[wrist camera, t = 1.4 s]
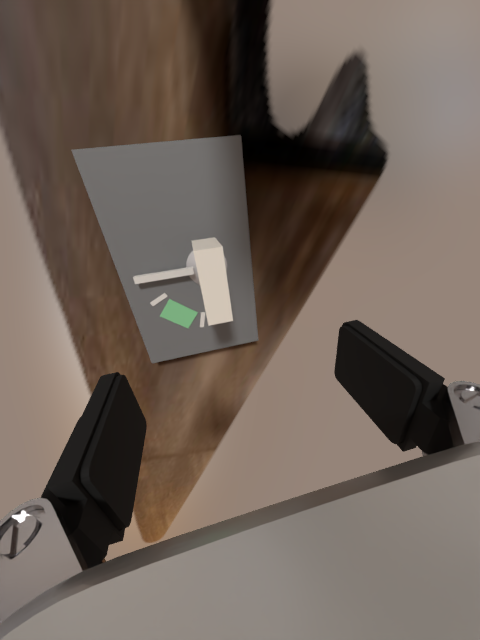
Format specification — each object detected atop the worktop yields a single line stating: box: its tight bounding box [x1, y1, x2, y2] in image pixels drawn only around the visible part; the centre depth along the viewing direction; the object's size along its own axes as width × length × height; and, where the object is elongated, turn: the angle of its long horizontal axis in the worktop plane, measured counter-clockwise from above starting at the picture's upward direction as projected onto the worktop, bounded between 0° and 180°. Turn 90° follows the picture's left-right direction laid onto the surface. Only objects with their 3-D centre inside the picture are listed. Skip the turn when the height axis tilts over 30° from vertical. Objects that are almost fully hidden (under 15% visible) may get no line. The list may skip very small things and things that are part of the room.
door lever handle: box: [133, 237, 233, 326], centre depth 21 cm, size 6×9×7 cm
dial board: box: [72, 135, 258, 363], centre depth 25 cm, size 22×14×2 cm, turn 6°
